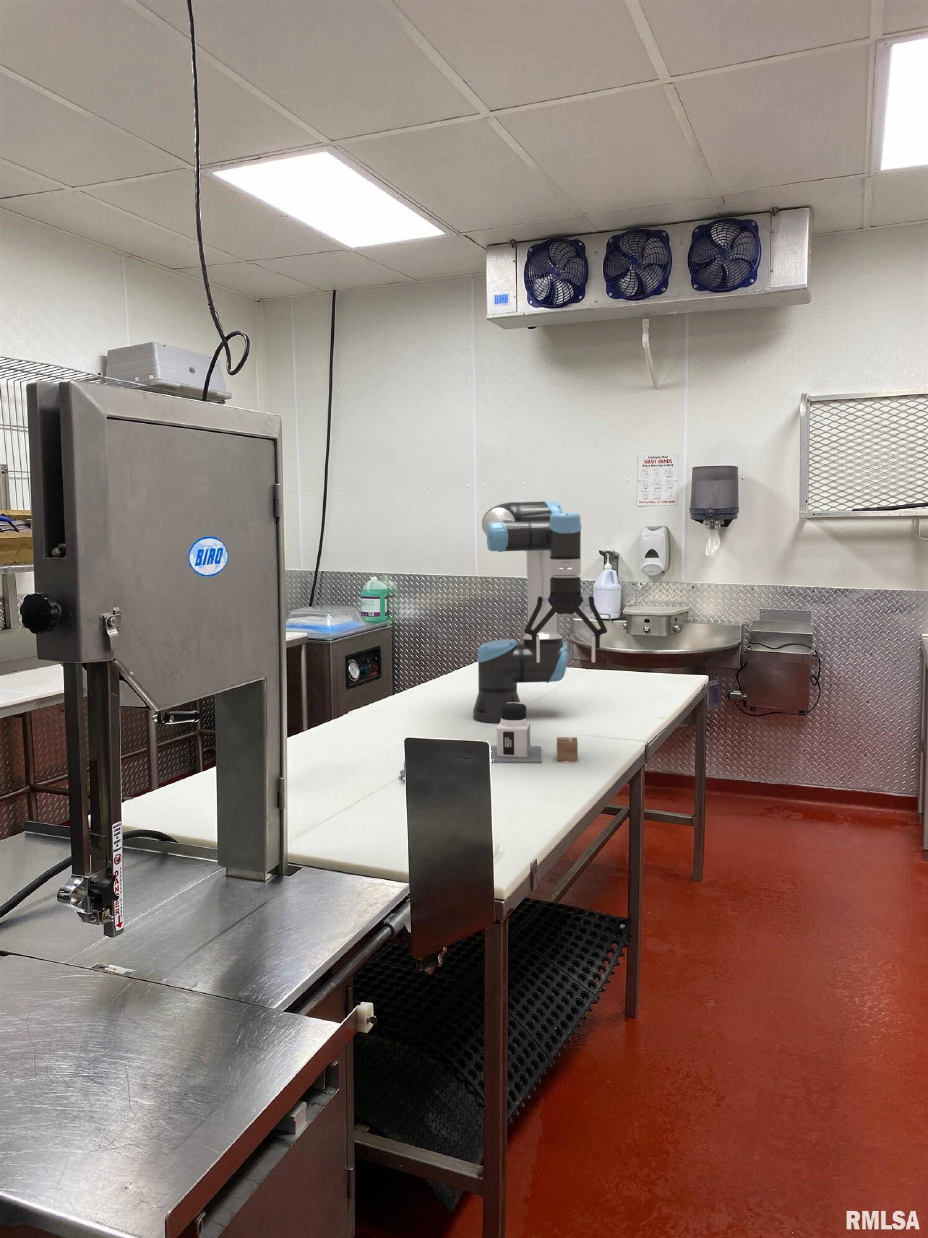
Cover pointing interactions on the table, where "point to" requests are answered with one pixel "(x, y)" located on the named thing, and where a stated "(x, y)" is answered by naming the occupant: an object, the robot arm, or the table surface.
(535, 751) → the rubber mat
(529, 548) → the robot arm
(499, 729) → the container
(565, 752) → the letter cube
